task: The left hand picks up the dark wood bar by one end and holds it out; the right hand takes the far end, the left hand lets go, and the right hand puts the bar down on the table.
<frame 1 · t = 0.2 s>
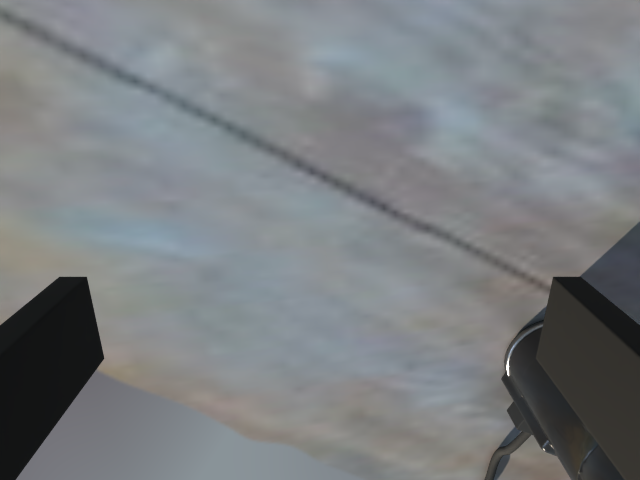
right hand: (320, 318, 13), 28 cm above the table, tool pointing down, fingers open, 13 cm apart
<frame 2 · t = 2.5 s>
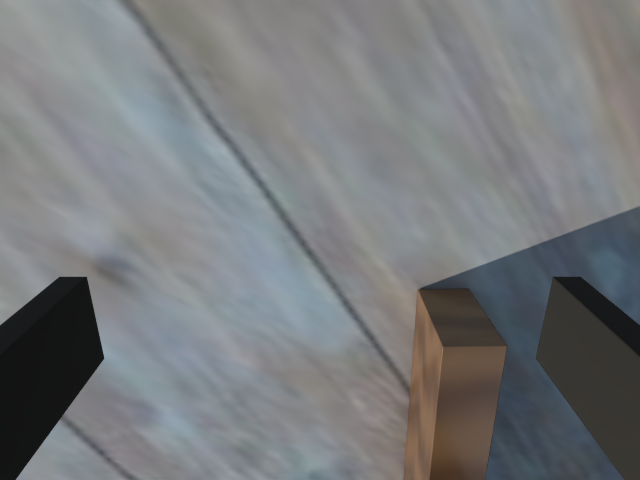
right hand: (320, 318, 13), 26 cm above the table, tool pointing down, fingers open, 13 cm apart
bar: (432, 401, 47), on the table, touching left hand
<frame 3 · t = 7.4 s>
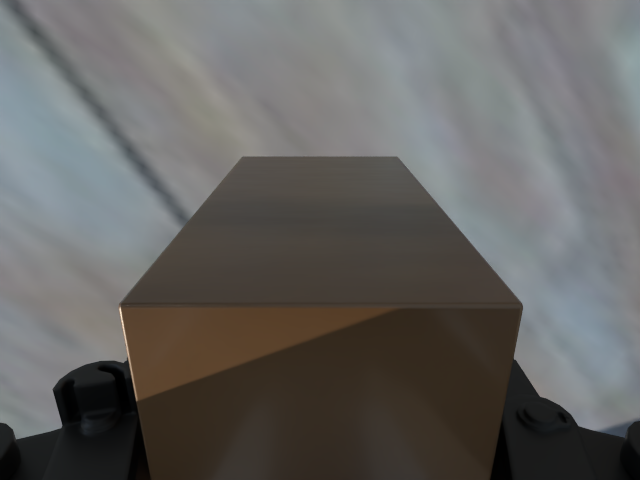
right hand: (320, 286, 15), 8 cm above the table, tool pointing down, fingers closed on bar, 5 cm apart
bar: (319, 472, 19), point 8 cm above the table, touching right hand, left hand
when the left hand's fingers open (12 cm above the table, at t = 8.2 s): bar stays where it is, held by the right hand.
when the right hand's fingers open (2 cm above the table, at t = 16.1 s): bar drops 1 cm, on the table.
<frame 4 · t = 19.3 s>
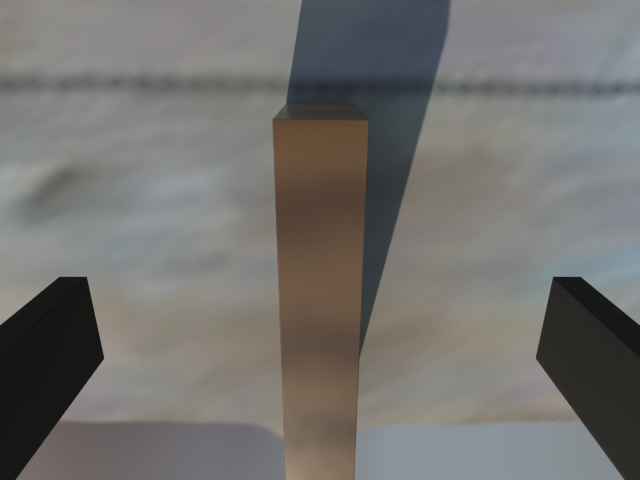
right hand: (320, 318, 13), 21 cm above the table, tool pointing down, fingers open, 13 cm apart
bar: (320, 276, 36), on the table
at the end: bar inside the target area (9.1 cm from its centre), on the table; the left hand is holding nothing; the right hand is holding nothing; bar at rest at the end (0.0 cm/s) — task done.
